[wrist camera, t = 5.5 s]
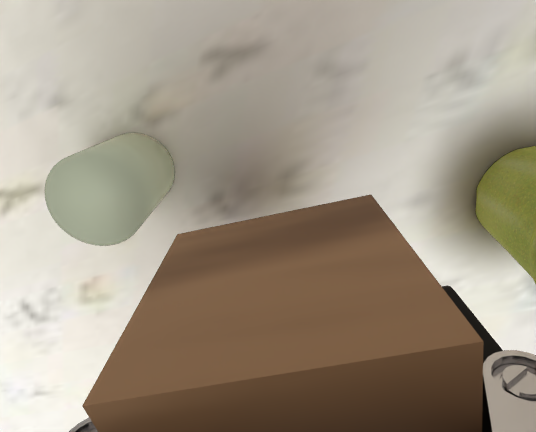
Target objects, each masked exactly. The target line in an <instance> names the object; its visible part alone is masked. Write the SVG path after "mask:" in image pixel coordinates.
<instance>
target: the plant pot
mask: <svg viewBox="0 0 536 432" xmlns="http://www.w3.org/2000/svg"><path fill="white" fill-rule="evenodd" d="M475 212H476V216H477V218H478V220H479V222H480V223H481V225H482V226H483V227H484V228H485V229H486V230H487V231H488V232H489V233H490V234H491V235H492V236H493V237H494V238H495V239H496V240H497V241H498V242H499V243H500V244H501V245H502V246H503V247H504V248H505V249H506V250H507V251H508V252H509V253H510V254H511V255H512V257H513V258H514V259H515V260H516V261H517V262H518V263H519V264H520V265H521V266H522V267H523V268H524V269H525V270H526V271H527V272H528V274H529V275H530V276H531V277H532V278H533V279H534V282H535V284H536V146H531V147H526V148H522V149H517V150H514V151H512V152H510V153H508V154H506V155H504V156H503V157H501V158H500V159H499V160H497V161H496V162H495V163H494V164H493V165H492V166H491V167H490V168H489V169H488V170H487V171H486V173H485V174H484V176H483V177H482V179H481V181H480V182H479V185H478V187H477V201H476V211H475Z"/></svg>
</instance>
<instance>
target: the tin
mask: <svg viewBox="0 0 536 432" xmlns="http://www.w3.org/2000/svg"><path fill="white" fill-rule="evenodd" d="M174 176H175V169H174V164H173V160H172V158H171V156H170V154H169V152H168V151H167V150H166V148H165V147H164V146H163V145H162V144H161V143H160V142H158V141H157V140H156V139H154V138H152V137H150V136H148V135H145V134H141V133H126V134H122V135H120V136H117V137H115V138H112V139H110V140H107V141H105V142H102V143H100V144H98V145H95V146H93V147H90V148H88V149H85V150H83V151H80V152H78V153H76V154H73V155H71V156H68V157H66V158H64V159H62V160H61V161H60V162H58V163H57V164H56V165H55V166H54V167H53V168H52V170H51V171H50V173H49V175H48V177H47V180H46V184H45V200H46V204H47V207H48V210H49V212H50V214H51V216H52V217H53V219H54V220H55V222H56V223H57V224H58V225H59V226H60V227H61V228H62V229H63V230H64V231H65V232H66V233H68V234H69V235H70V236H72V237H74V238H75V239H77V240H80V241H82V242H85V243H88V244H92V245H99V246H108V245H114V244H118V243H121V242H123V241H125V240H127V239H128V238H130V237H131V236H132V235H133V234H134V233H135V232H136V231H137V230H138V229H139V227H140V226H141V225H142V224H143V222H144V221H145V220H146V219H147V218H148V216H149V215H150V214H151V213H152V211H153V210H154V209H155V208H156V206H157V205H158V204H159V203H160V201H161V200H162V199H163V198H164V196H165V195H166V194H167V193H168V192H169V190H170V188H171V187H172V184H173V181H174Z"/></svg>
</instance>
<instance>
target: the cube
mask: <svg viewBox="0 0 536 432" xmlns="http://www.w3.org/2000/svg"><path fill="white" fill-rule="evenodd" d="M482 403H483V340H482V339H481V338H480V336H479V335H478V334H477V332H476V331H475V330H474V328H473V327H472V326H471V325H470V323H469V322H468V321H467V319H466V318H465V317H464V315H463V314H462V313H461V311H460V310H459V309H458V308H457V306H456V305H455V304H454V302H453V301H452V300H451V298H450V297H449V296H448V294H447V293H446V292H445V291H444V289H443V288H442V287H441V285H440V284H439V283H438V281H437V280H436V279H435V277H434V276H433V275H432V274H431V272H430V271H429V270H428V268H427V267H426V266H425V264H424V263H423V262H422V260H421V259H420V258H419V257H418V255H417V254H416V253H415V251H414V250H413V249H412V247H411V246H410V245H409V243H408V242H407V241H406V240H405V238H404V237H403V236H402V234H401V233H400V232H399V230H398V229H397V228H396V226H395V225H394V224H393V222H392V221H391V220H390V219H389V217H388V216H387V215H386V213H385V212H384V211H383V209H382V208H381V207H380V205H379V204H378V203H377V202H376V200H375V199H374V198H373V196H372V195H366V196H362V197H357V198H352V199H347V200H342V201H337V202H332V203H328V204H323V205H318V206H313V207H308V208H303V209H298V210H293V211H289V212H284V213H279V214H274V215H269V216H264V217H259V218H255V219H250V220H245V221H240V222H235V223H230V224H225V225H220V226H216V227H211V228H206V229H201V230H196V231H191V232H186V233H182V234H177V236H176V238H175V240H174V242H173V243H172V245H171V247H170V249H169V251H168V252H167V254H166V256H165V258H164V260H163V261H162V263H161V265H160V267H159V269H158V270H157V272H156V274H155V276H154V278H153V279H152V281H151V283H150V285H149V287H148V288H147V290H146V292H145V294H144V296H143V297H142V299H141V301H140V303H139V305H138V306H137V308H136V310H135V312H134V314H133V316H132V317H131V319H130V321H129V323H128V325H127V326H126V328H125V330H124V332H123V334H122V335H121V337H120V339H119V341H118V343H117V344H116V346H115V348H114V350H113V352H112V353H111V355H110V357H109V359H108V361H107V362H106V364H105V366H104V368H103V370H102V371H101V373H100V375H99V377H98V379H97V380H96V382H95V384H94V386H93V388H92V390H91V391H90V393H89V395H88V397H87V399H86V400H85V402H84V404H83V408H84V409H85V411H86V413H87V414H88V416H89V418H90V419H91V421H92V422H93V424H94V426H95V427H96V429H97V431H98V432H482Z"/></svg>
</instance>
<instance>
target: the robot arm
mask: <svg viewBox="0 0 536 432" xmlns="http://www.w3.org/2000/svg"><path fill="white" fill-rule="evenodd" d="M442 288H443V289H444V291H445V292H446V293H447V294H448V296H449V297H450V298H451V300H452V301H453V302H454V304H455V305H456V306H457V308H458V309H459V310H460V311H461V313H462V314H463V315H464V317H465V318H466V319H467V321H468V322H469V323H470V325H471V326H472V327H473V328H474V330H475V331H476V332H477V334H478V335H479V336H480V338H481V339H482V340H483V403H482V432H536V355H533V354H531V353H527V352H522V351H517V350H504V351H503V350H502V349H501V348H500V346H499V345H498V344H497V343H496V342H495V340H494V339H493V338H492V337H491V335H490V334H489V333H488V332H487V330H486V329H485V328H484V327H483V325H482V324H481V323H480V322H479V320H478V319H477V318H476V317H475V316H474V314H473V313H472V312H471V311H470V309H469V308H468V307H467V306H466V304H465V303H464V302H463V301H462V299H461V298H460V297H459V296H458V294H457V293H456V292H455V291H454V290H453V289H452V288H451V287H450V286H442ZM69 432H98V431H97V429H96V427H95V426H94V424H93V422H92V421H91V419H90V418H87V419H86V420H84V421H82V422H80V423H79V424H77V425H76V426H75V427H74V428H72V429H71V430H70V431H69Z"/></svg>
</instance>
